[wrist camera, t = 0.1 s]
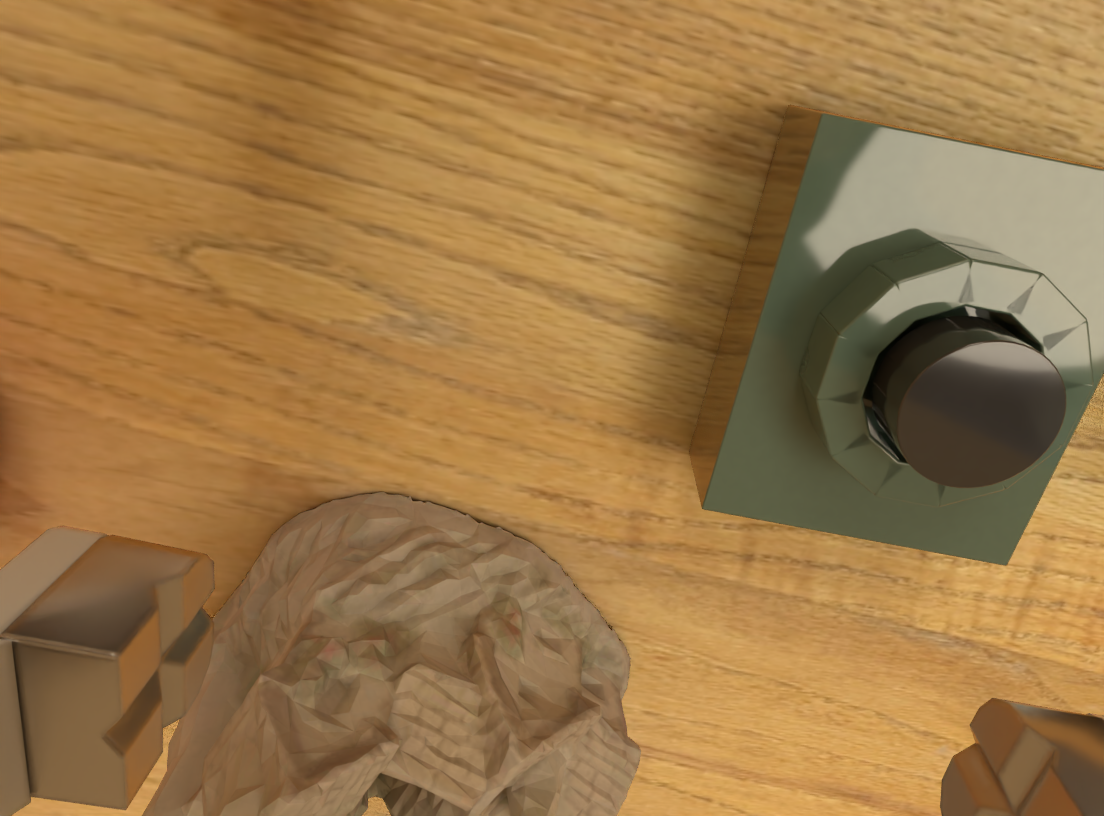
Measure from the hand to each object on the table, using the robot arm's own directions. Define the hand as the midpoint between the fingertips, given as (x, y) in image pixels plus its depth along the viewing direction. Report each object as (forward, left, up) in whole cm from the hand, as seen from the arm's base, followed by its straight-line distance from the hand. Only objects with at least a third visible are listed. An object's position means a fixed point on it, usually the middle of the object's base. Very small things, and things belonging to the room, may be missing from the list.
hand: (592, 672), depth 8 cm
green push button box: (0, +10, -19) cm, 22 cm away
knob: (0, +10, -14) cm, 17 cm away
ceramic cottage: (+18, -4, -20) cm, 27 cm away
